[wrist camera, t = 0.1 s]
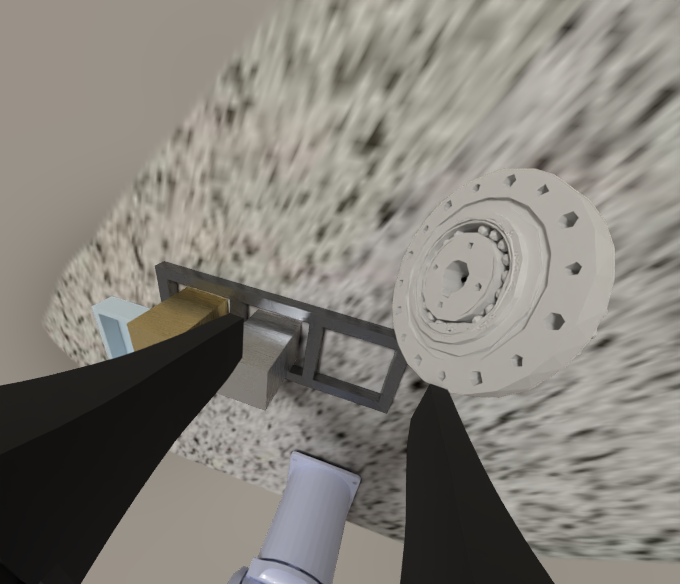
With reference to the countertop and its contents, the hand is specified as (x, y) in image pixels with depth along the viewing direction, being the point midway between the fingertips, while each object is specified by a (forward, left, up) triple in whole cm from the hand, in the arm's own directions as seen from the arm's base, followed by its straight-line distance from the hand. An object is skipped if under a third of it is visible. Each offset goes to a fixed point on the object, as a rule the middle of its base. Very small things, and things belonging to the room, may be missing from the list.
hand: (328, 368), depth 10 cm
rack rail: (-9, +7, -10) cm, 15 cm away
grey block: (-9, +7, -11) cm, 15 cm away
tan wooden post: (-9, +14, -11) cm, 19 cm away
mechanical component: (+1, -3, -10) cm, 11 cm away
